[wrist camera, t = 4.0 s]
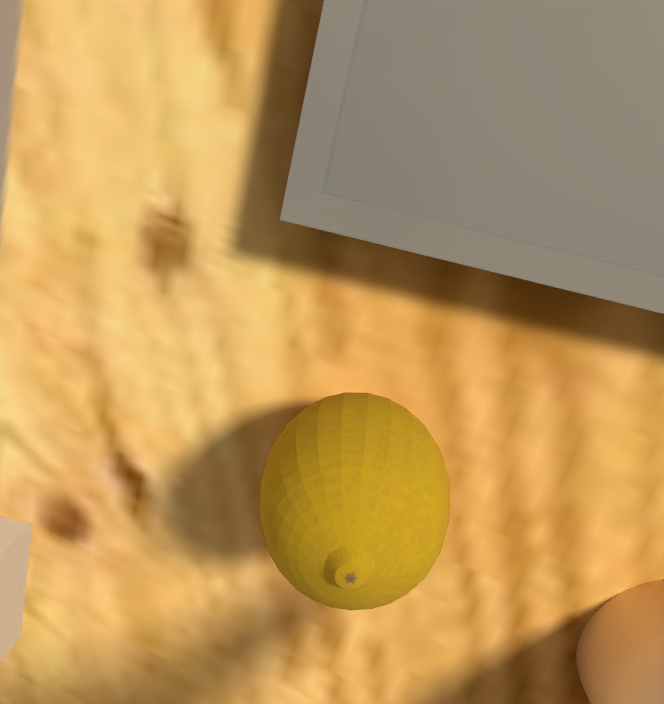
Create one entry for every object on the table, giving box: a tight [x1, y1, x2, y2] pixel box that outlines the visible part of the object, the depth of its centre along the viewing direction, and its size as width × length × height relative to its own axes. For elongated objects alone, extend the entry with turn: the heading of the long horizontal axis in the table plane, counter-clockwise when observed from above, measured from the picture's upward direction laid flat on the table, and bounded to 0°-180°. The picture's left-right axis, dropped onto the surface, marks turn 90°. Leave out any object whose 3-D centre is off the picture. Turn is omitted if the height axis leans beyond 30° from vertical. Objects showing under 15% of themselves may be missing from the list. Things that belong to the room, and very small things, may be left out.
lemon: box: [260, 393, 450, 610], centre depth 17 cm, size 6×6×8 cm
